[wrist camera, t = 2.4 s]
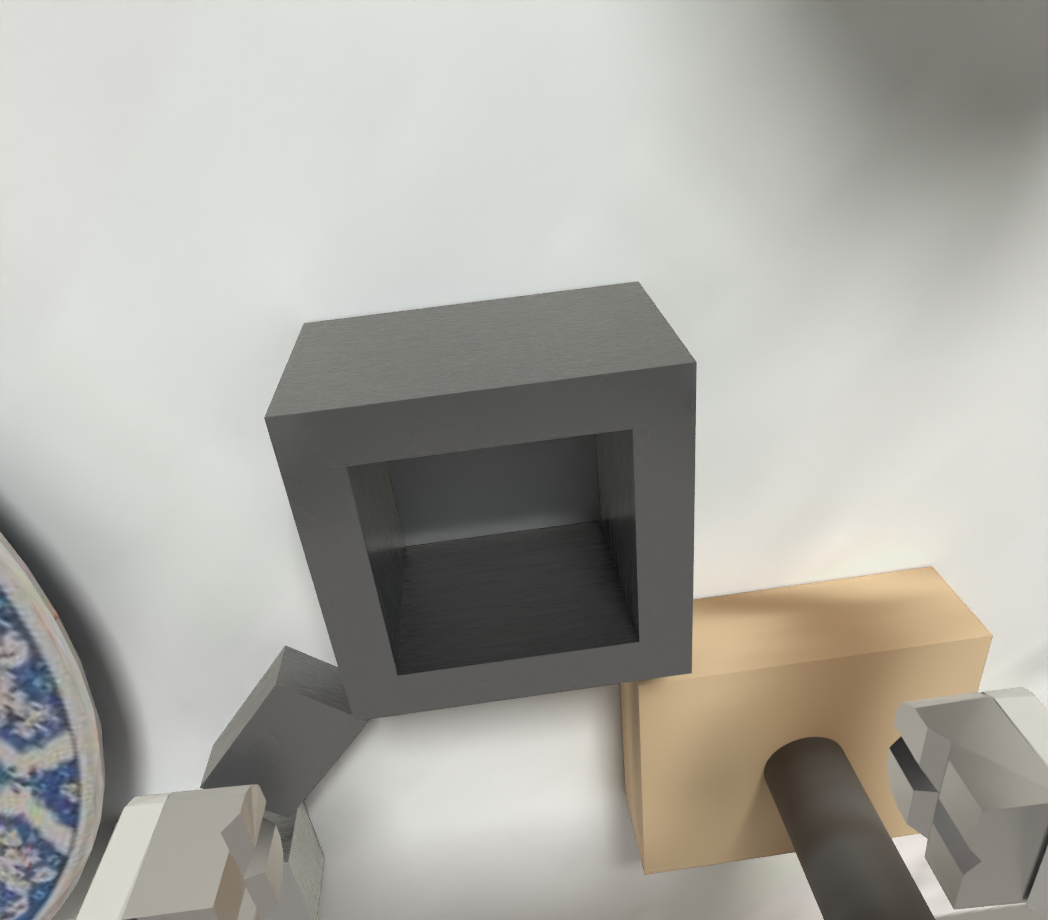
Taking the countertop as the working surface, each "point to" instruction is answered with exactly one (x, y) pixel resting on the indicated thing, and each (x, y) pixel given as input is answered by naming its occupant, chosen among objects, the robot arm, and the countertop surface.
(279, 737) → the gray rectangular block
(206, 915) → the robot arm
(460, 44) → the countertop surface
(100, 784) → the ceramic plate
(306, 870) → the silver knob on block
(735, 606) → the keeper
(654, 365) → the grey square ring
